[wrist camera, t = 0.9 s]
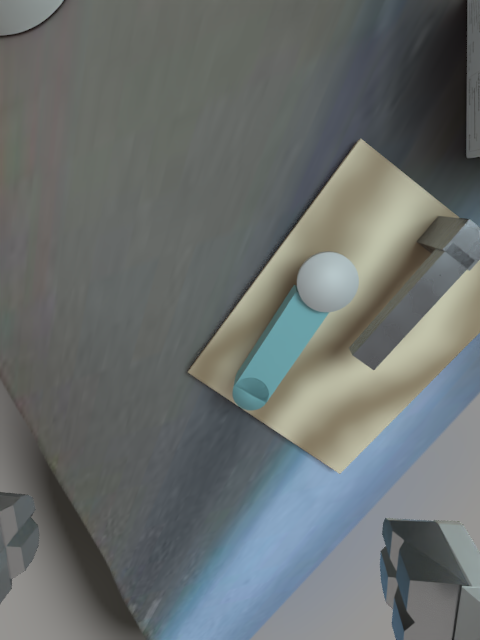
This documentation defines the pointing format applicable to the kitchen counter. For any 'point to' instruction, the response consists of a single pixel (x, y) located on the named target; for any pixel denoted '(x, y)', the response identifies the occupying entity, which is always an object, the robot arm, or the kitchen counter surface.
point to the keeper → (421, 287)
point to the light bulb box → (473, 79)
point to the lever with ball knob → (295, 325)
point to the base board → (349, 314)
